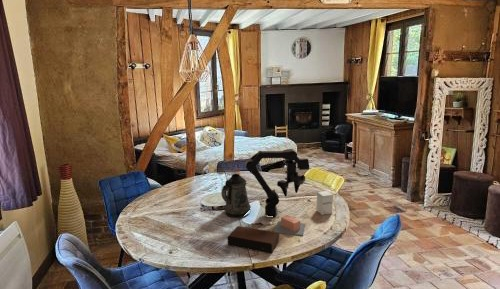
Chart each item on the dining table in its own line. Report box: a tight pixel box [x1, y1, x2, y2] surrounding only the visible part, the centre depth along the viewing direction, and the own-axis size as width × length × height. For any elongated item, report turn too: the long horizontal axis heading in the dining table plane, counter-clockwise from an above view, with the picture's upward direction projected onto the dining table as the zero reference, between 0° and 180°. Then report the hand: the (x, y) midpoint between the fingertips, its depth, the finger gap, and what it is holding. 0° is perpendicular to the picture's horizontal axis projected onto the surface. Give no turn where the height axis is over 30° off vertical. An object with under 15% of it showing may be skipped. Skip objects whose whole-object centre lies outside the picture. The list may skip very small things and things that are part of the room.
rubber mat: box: [273, 220, 306, 237], centre depth 189 cm, size 16×14×1 cm
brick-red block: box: [280, 214, 301, 232], centre depth 189 cm, size 5×5×10 cm
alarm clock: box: [227, 225, 280, 255], centre depth 172 cm, size 24×12×6 cm, turn 69°
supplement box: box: [316, 190, 334, 216], centre depth 209 cm, size 7×7×13 cm
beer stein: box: [220, 173, 252, 219], centre depth 207 cm, size 16×19×25 cm
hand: (291, 194), depth 205 cm, fingers open, 9 cm apart
